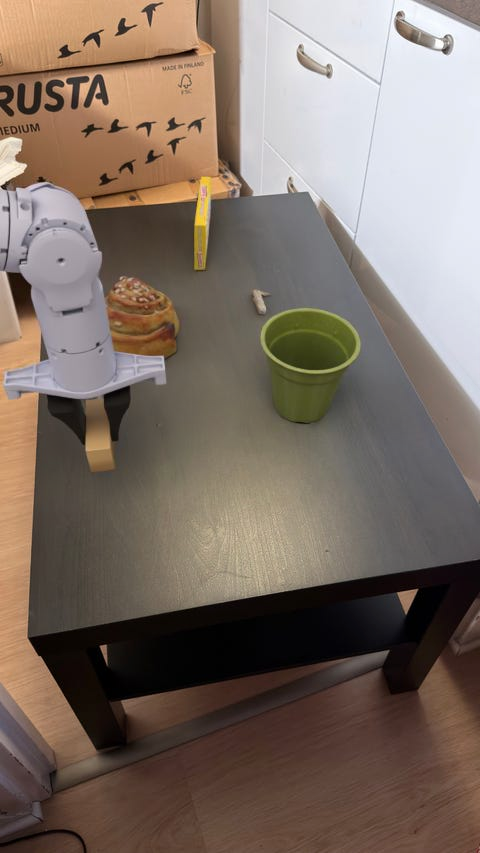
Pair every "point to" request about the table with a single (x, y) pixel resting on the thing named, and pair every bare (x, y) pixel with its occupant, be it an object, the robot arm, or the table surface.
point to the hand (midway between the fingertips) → (100, 435)
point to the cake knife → (98, 437)
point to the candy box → (202, 223)
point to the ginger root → (259, 301)
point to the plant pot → (307, 360)
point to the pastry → (141, 319)
